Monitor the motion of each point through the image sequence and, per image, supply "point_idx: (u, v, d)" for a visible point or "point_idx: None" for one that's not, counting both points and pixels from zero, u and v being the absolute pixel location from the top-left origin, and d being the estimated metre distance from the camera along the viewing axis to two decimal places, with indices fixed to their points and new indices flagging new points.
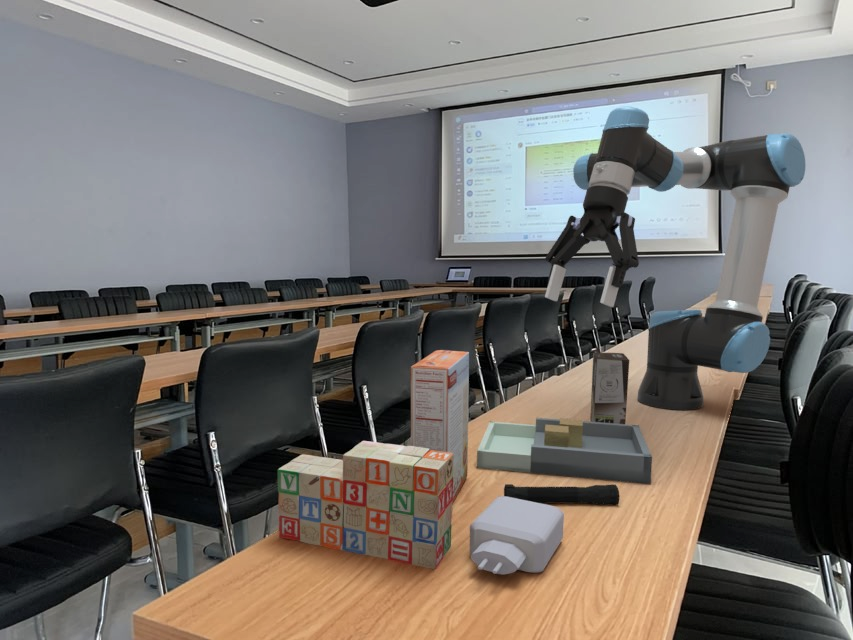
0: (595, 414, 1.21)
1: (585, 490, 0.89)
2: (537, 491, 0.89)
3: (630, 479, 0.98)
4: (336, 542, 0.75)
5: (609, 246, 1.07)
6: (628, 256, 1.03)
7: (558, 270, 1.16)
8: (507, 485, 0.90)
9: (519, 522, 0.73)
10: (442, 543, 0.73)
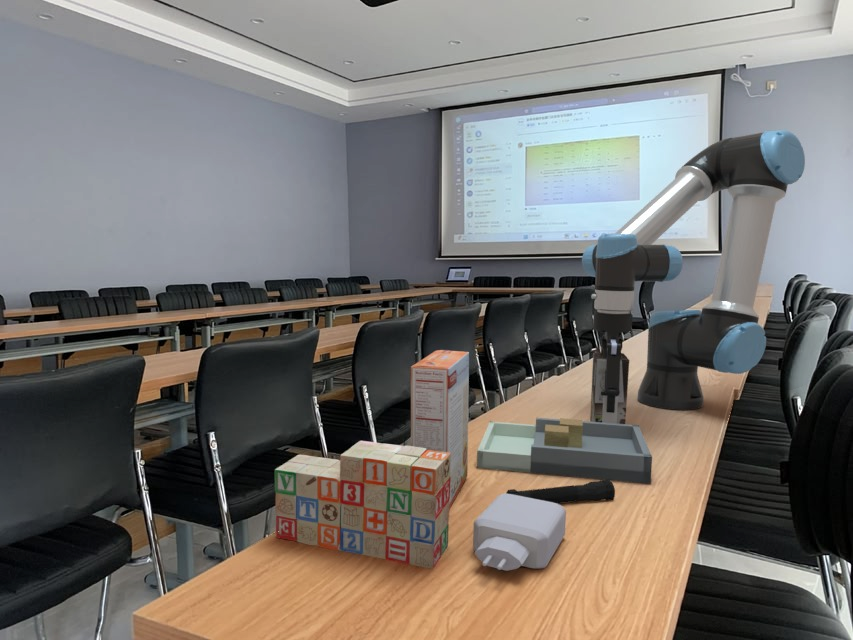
0: (595, 414, 1.21)
1: (583, 488, 0.90)
2: (540, 494, 0.88)
3: (630, 479, 0.98)
4: (334, 542, 0.75)
5: (605, 372, 1.20)
6: (605, 388, 1.16)
7: None
8: (510, 490, 0.88)
9: (522, 519, 0.74)
10: (439, 543, 0.73)
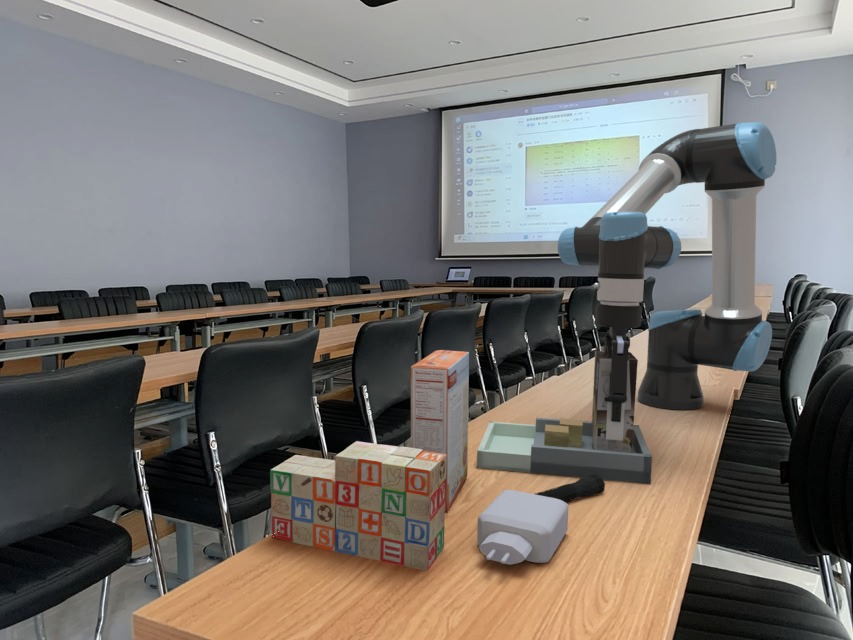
0: (597, 423, 1.03)
1: (579, 485, 0.91)
2: (546, 496, 0.87)
3: (630, 479, 0.98)
4: (329, 543, 0.75)
5: None
6: (610, 393, 0.99)
7: None
8: None
9: (525, 514, 0.75)
10: (435, 544, 0.72)
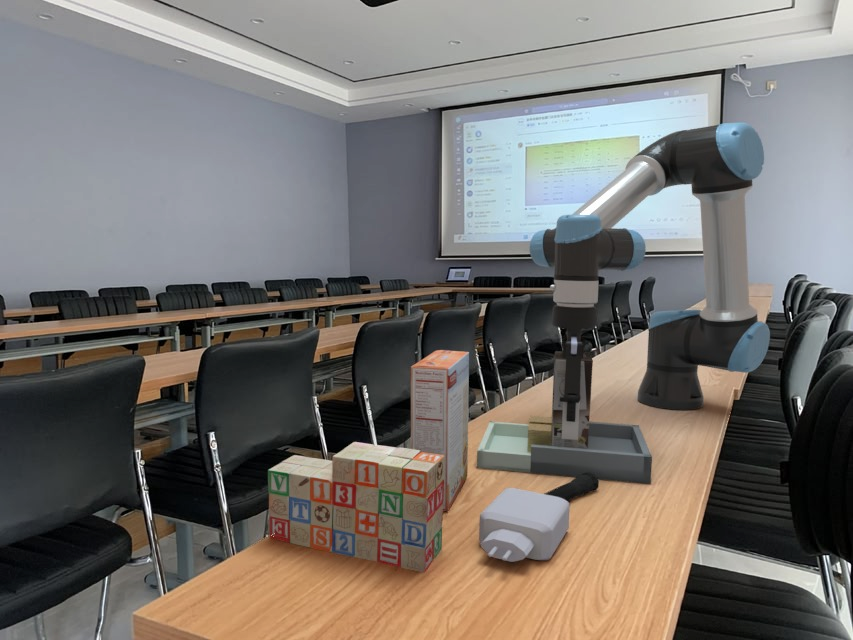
0: (554, 423, 1.05)
1: (577, 484, 0.92)
2: None
3: (630, 479, 0.98)
4: (326, 544, 0.74)
5: None
6: (564, 394, 1.00)
7: None
8: None
9: (527, 512, 0.76)
10: (432, 546, 0.72)
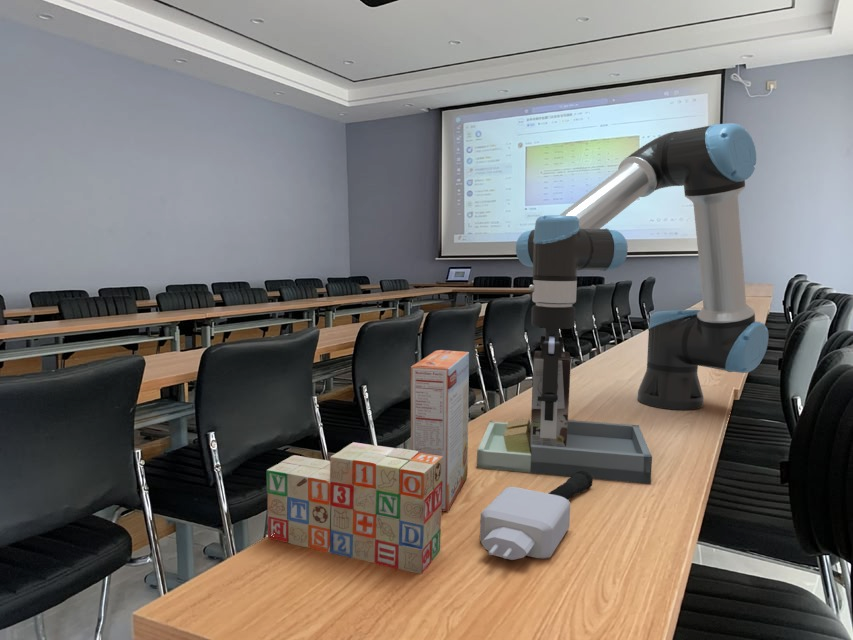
0: (532, 422, 1.06)
1: (574, 483, 0.92)
2: None
3: (630, 479, 0.98)
4: (324, 544, 0.74)
5: None
6: (542, 393, 1.01)
7: None
8: None
9: (528, 510, 0.76)
10: (429, 547, 0.72)
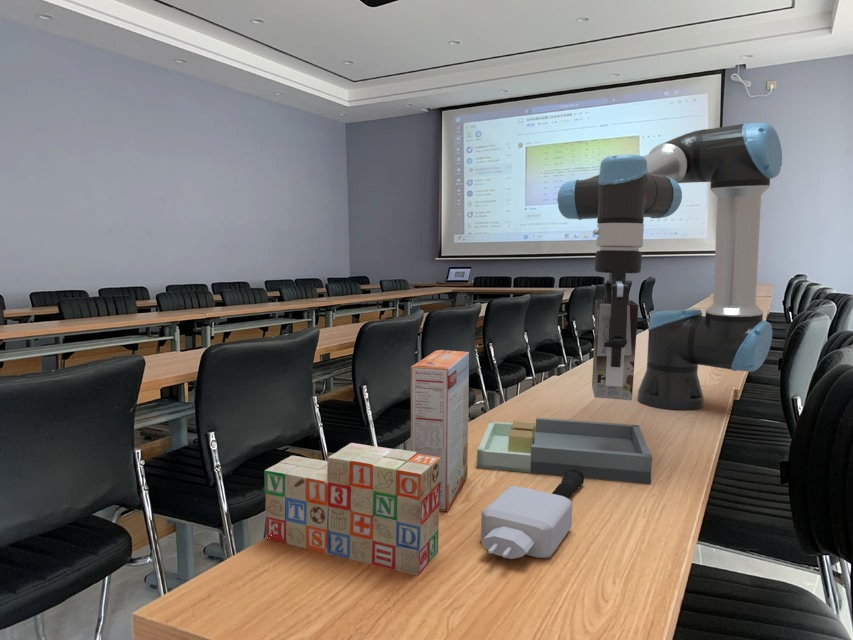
0: (597, 369, 1.02)
1: (571, 482, 0.92)
2: None
3: (630, 479, 0.98)
4: (321, 545, 0.74)
5: None
6: (610, 337, 0.98)
7: None
8: None
9: (528, 510, 0.76)
10: (427, 549, 0.71)
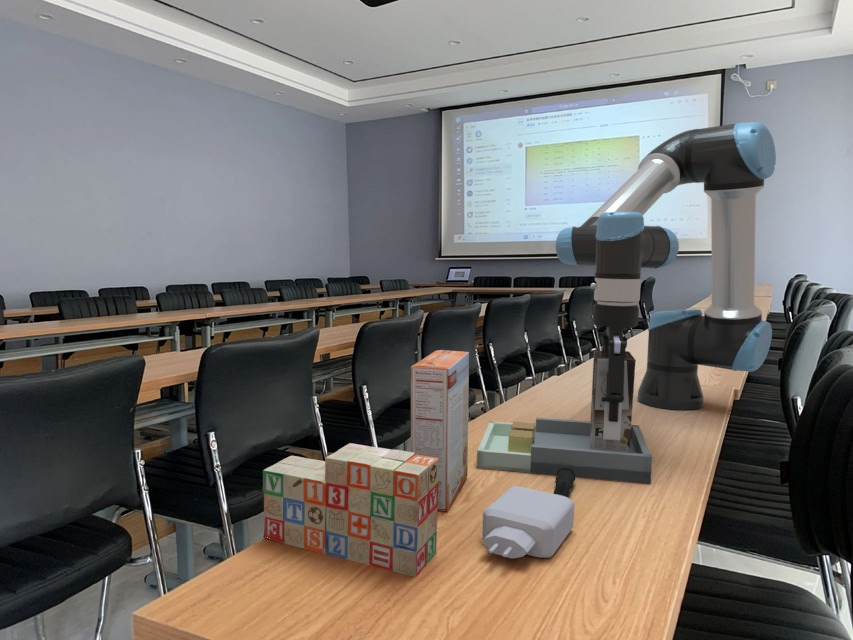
0: (595, 423, 1.03)
1: (567, 481, 0.93)
2: None
3: (630, 479, 0.98)
4: (319, 545, 0.74)
5: None
6: (607, 393, 0.99)
7: None
8: None
9: (530, 510, 0.76)
10: (424, 550, 0.71)
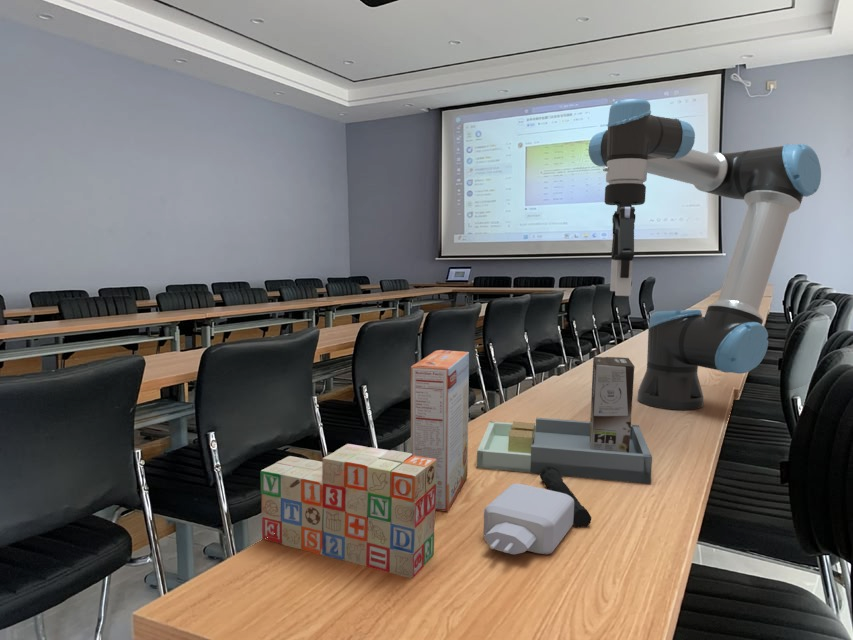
0: (594, 429, 1.03)
1: (561, 480, 0.93)
2: None
3: (630, 479, 0.98)
4: (317, 546, 0.74)
5: (618, 240, 1.15)
6: (619, 250, 1.11)
7: (615, 264, 1.26)
8: (581, 508, 0.82)
9: (530, 507, 0.77)
10: (422, 552, 0.71)
